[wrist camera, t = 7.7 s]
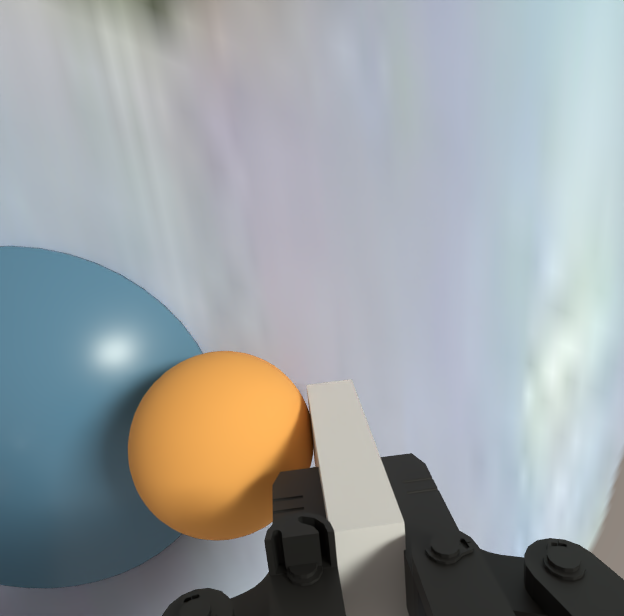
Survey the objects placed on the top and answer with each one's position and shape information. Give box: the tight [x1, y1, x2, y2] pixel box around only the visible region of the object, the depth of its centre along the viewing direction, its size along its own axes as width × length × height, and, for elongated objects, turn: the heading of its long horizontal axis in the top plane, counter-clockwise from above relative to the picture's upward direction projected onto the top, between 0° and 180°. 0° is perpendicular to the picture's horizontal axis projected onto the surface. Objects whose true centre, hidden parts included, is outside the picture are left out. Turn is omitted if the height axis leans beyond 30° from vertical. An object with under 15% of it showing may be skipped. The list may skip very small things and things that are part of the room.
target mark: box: [0, 246, 203, 588], centre depth 18 cm, size 13×13×1 cm
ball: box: [128, 351, 313, 540], centre depth 16 cm, size 6×6×6 cm
